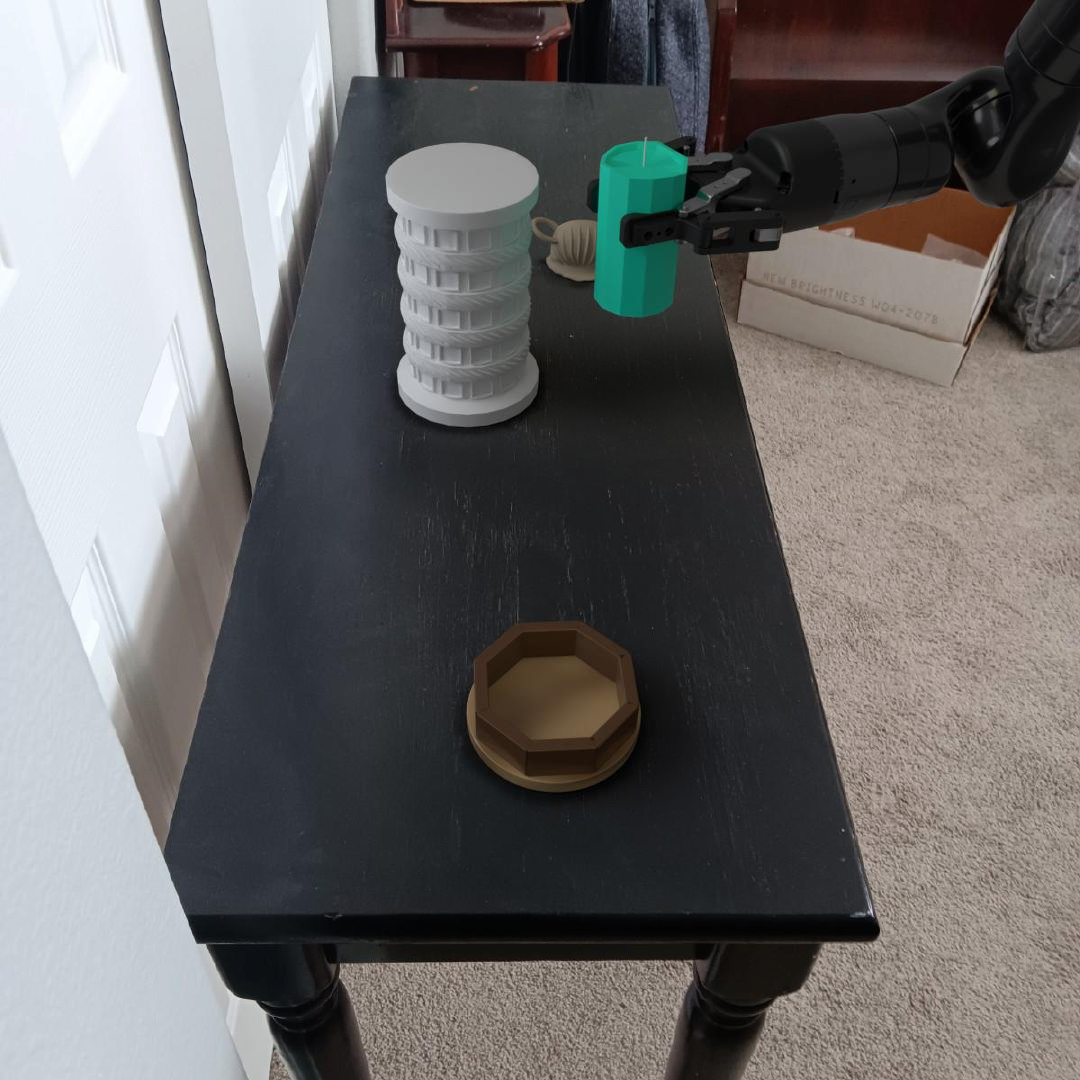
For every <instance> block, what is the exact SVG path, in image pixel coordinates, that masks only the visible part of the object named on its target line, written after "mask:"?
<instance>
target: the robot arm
mask: <svg viewBox="0 0 1080 1080" xmlns="http://www.w3.org/2000/svg"><path fill="white" fill-rule="evenodd" d="M1002 64H1003V65H1002V66H998V65H985V66H982V67H977V68H976V69H974V70H972V71H969V72H968V73H966V74H964V75H962V76H961V77H959V78H958V79H955V80H954V81H952V82H950V83H948V84H947V85H945V86H943V87H942V88H940V89H937V90H935V91H934V92H931V93H929V94H927V95H925V96H923V97H921V98H919V99H917V100H914V101H913V102H910V103H908V104H905V105H902V106H895V107H890V108H885V109H878V110H873V111H868V112H861V113H838V114H831V115H826V116H820V117H814V118H809V119H803V120H798V121H792V122H786V123H781V124H777V125H776V124H775V125H770V126H765V127H760V128H758V129H755V130H754V131H753V132H751V133H750V134H748V136H747V138H745V140H744V141H743V143H742V144H741V145H740V146H739V147H738V148H737V149H736V150H735V151H712V152H708V153H704V152H702V151H700V150H698V149H697V143H698V139H697V138H696V137H695V136H692V135H684V136H681V137H677V138H674V139H671V140H669V141H666V142H662V143H663V144H664V145H666V146H668V147H669V148H671V149H673V150H675V151H676V152H678V153H680V154H682V155H684V156H686V157H687V158H688V164H687V174H686V183H685V193H684V202H683V203H681V204H679V205H677V208H676V212H675V210H674V209H672V210H668V211H662V212H657V213H652V214H646V213H630V214H626V215H624V216H623V217H622V218H621V221H620V234H619V241H620V242H621V244H622V245H623V246H624V247H625V248H627V249H630V248H634V247H639V246H647V245H650V244H651V245H652V244H655V243H661V242H666V241H671V240H673V241H674V242H675V243H677V244H679V245H688V244H691V245H693V252H694V253H695V254H696V255H699V256H715V255H729V254H744V253H746V254H747V253H759V252H774V251H777V250H779V249H780V244H781V239H782V236H783V235H784V234H789V233H794V232H799V231H804V230H808V229H812V228H817V227H821V226H826V225H827V226H828V225H831V224H835V223H841V222H845V221H848V220H852V219H855V218H859V217H861V216H863V215H866V214H869V213H871V212H874V211H879V210H885V209H889V208H895V207H898V206H903V205H908V204H912V203H916V202H921V201H923V200H926V199H929V198H932V197H933V196H935V195H936V194H938V193H939V192H940V191H942V190H943V188H945V186H946V185H947V183H948V181H949V180H950V179H951V176H952V174H953V170H954V167H955V169H956V171H957V173H958V175H959V176H960V178H961V180H962V182H963V183H964V185H965V187H966V189H967V190H968V192H969V194H970V195H971V196H972V197H973V198H974V200H975V201H976V202H978V203H979V204H981V205H982V206H985V207H988V208H992V209H1006V208H1010V207H1015V206H1018V205H1020V204H1023V203H1024V202H1026V201H1029V200H1030V199H1031V198H1033V197H1035V196H1036V195H1037V194H1038V193H1040V192H1041V191H1042V190H1043V189H1044V188H1046V186H1047V185H1048V184H1049V183H1050V182H1051V180H1053V179H1054V177H1055V176H1056V175H1057V173H1058V172H1059V170H1060V169H1061V168H1062V166H1063V165H1064V163H1065V161H1066V160H1067V158H1068V156H1069V153H1070V152H1071V149H1072V147H1073V146H1074V144H1075V141H1076V138H1077V136H1078V134H1079V131H1080V0H1034V2H1033V3H1032V4H1031V6H1030V7H1029V9H1028V11H1027V12H1026V13H1025V15H1024V16H1023V18H1022V19H1021V21H1020V22H1019V24H1018V25H1017V27H1016V28H1015V29H1014V31H1013V32H1012V34H1011V36H1010V37H1009V40H1008V41H1007V44H1006V46H1005V49H1004V52H1003V61H1002ZM599 180H600V178H595V179H592V180H590V181H589V182H588V184H587V187H586V188H587V193H586V206H587V208H588V209H589V210H590V211H591V212H592V213H593V214H598V200H599ZM725 232H728V235H727V237H725V238H715V237H717V236H719V235H721V234H723V233H725ZM714 238H715V239H714Z"/></svg>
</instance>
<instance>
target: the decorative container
mask: <svg viewBox="0 0 1080 1080" xmlns="http://www.w3.org/2000/svg"><path fill="white" fill-rule="evenodd" d="M385 185H386V197H387V203H388V205H390V206H391V208H392V209H393V210H394V212H395V213H397V215H396V218H395V222H394V227H393V229H394V236H395V240H396V242H397V247H398V248H399V249H400V255H399V257H398V262H397V276H398V279H399V281H400V285H401V286H402V289H403V290H402V294H401V298H400V303H399V304H400V305H399V306H400V307H399V308H400V313H401V316H402V318H403V322H404V324H405V327H404V331H403V337H402V345H403V350H404V351H405V354H404V355H403V356H402V358H401V359H400V360H399V362H398V367H397V369H396V377H397V378H396V379H397V387H398V395H399V397H400V398H401V400H402V401H403V404H404V405H405V406H406V407H407V408H409V409H410V410H411V411H412V412H413V413H415V414H416V415H417V416H418V417H422V418H423V419H426V420H428V421H430V422H433V423H437V424H440V425H445V426H448V427H460V428H461V427H463V428H474V427H484V426H490V425H494V424H497V423H502V422H506V421H508V420H509V419H512V418H513V417H515V416H518V415H520V414H521V413H522V412H524V411H525V409H526V408H528V407H529V406H530V405H532V403H533V401H534V399H535V398H536V396H537V394H538V390H539V383H540V382H539V381H540V370H539V366H538V363H537V360H536V358H535V357H534V355H533V354H532V353H531V352H530V346H531V342H530V341H531V339H532V337H531V336H530V335H531V332H530V329H529V325H528V322H529V320H530V316H531V311H532V308H531V305H533V302H532V301H531V299H532V297H531V295H530V291H529V285H530V282H531V279H532V277H531V276H532V274H533V271H532V269H533V265H532V258H531V256H530V255H531V254H530V252H529V248H530V247H531V242H532V241H531V240H532V239H533V238H532V236H533V235H534V232H533V231H532V229H533V227H532V220H533V219H532V217H531V214H530V213H531V210H533V208H534V207H535V206H536V205H537V203H538V200H539V195H540V175H539V172H538V169H537V167H536V166H535V165H534V164H533V163H532V162H531V161H530V160H529V159H528V158H526V157H524V155H521V154H519V153H517V152H516V151H514V150H510V149H507V148H504V147H501V146H496V145H491V144H486V143H475V142H450V143H449V142H448V143H447V142H446V143H439V144H434V145H429V146H428V145H427V146H425V147H422V148H418V149H415V150H411V151H410V152H408V153H406V154H404V155H402V156H400V157H399V158H397V159H396V160H395V161H394V162H392V164H390V165H389V166H388V169H387V172H386V174H385Z"/></svg>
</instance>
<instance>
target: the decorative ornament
mask: <svg viewBox="0 0 1080 1080" xmlns="http://www.w3.org/2000/svg"><path fill="white" fill-rule="evenodd" d="M531 220H532V227H533V229H532V232H533V235H535V236H536V237H537V238H539V240H541V241H543V242H545V243H547V244H550V252H549V255H547V257H546V258H545V262H546V265H547V267H548V268H549V269H550V270H551V271H552V272H554V273H555V274H557V275H560V276H562V277H563V278H564V279H570V280H572V281H574V282H577V283H578V282H579V283H580V282H581V283H582V282H595V263H596V242H597V221H598V220H592V219H591V220H590V219H574V220H573V219H572V220H568V221H566V222H563V223H561V224H560V225H559V224H558V223H557V222H556V221H554V220H552V219H550V218H547V217H544V216H536V217H534V218H533V219H531ZM537 224H543V225H545V226H547V227H549V228H551V229H552V230H553V234H552V236H549V235H547V234H545V233H543V232H542V231H541V230H540V229H539V228H538V227H537Z"/></svg>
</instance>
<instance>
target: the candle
mask: <svg viewBox="0 0 1080 1080" xmlns="http://www.w3.org/2000/svg"><path fill="white" fill-rule="evenodd" d="M663 143H664V142H662V141H659V140H648V136H645V137H644V140H636V141H635V140H634V141H630V142H625V143H621V144H616V145H614V146H613V147H611V148H610V149H609V150H607V151H606V152H605V153H603V154H602V155H601V159H600V163H599V179H600V180H599V200H598V213H597V220H596V221H597V242H596V263H595V280H594V284H593V285H594V287H593V299H594V300H595V301H596V302H597V303H598V305H599V306H600V307H601V309H603V310H605V311H607V312H609V313H613V314H615V315H617V316H619V317H629V318H630V317H631V318H646V317H650V316H654V315H659V314H662V313H663V312H665V311H666V310H667V309H668V308H669V307H671V306H672V305H673V304H674V303H673V301H674V294H675V285H676V275H677V266H678V257H679V247H680V244H677V243H675V242H674V241H673V240H671V241H666V242H661V243H655V244H652V245H651V244H650V245H647V246H639V247H634V248H630V249H627V248H625V247H624V246H623V245H622V244H621V242H620V241H619V234H620V221H621V218H622V217H623V216H624V215H626V214H630V213H646V214H652V213H657V212H662V211H668V210H672V209H674V210H675V212H676V208H677V205H679V204H681V203H683V202H684V193H685V183H686V174H687V164H688V158H687V157H686V156H684V155H682V154H680V153H678V152H676V151H675V150H673V149H671V148H669V147H668V146H666V145H664V144H663Z"/></svg>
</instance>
